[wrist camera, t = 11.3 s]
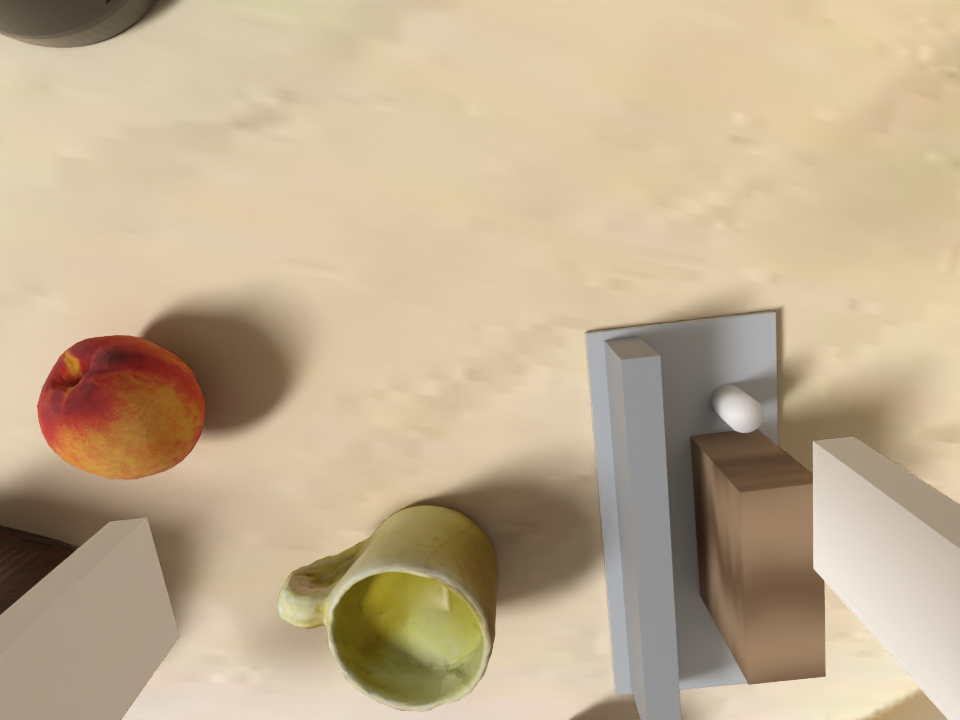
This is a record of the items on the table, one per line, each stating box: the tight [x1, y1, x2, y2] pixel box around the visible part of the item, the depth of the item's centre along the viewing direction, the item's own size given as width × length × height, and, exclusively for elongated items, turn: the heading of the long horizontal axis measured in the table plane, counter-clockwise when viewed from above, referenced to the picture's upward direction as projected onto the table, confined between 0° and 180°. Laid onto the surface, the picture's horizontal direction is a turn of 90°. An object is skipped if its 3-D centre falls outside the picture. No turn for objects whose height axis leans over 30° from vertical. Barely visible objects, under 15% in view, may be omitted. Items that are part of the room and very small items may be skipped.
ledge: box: [585, 311, 778, 720], centre depth 38 cm, size 25×11×6 cm, turn 7°
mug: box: [278, 505, 498, 712], centre depth 38 cm, size 12×10×10 cm
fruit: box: [37, 335, 206, 480], centre depth 36 cm, size 8×8×8 cm
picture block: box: [690, 429, 826, 684], centre depth 37 cm, size 11×4×8 cm, turn 8°
